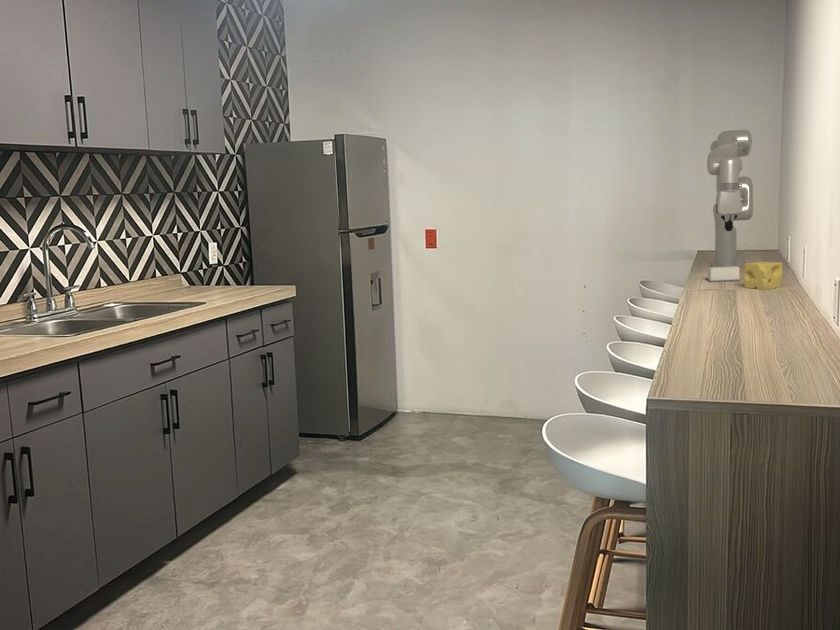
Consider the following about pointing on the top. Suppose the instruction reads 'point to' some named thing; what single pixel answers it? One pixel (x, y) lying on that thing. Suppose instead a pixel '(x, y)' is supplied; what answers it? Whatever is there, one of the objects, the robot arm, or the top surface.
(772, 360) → the top surface
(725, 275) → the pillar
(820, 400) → the top surface
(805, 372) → the top surface
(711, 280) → the mat
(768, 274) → the cheese
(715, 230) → the robot arm
